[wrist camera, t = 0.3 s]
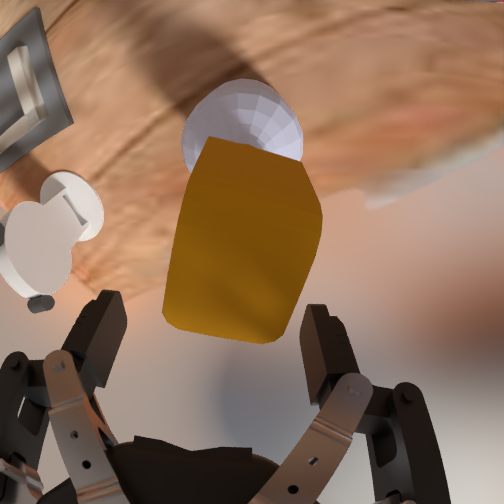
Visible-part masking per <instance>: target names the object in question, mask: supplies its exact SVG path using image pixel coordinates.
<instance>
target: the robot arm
mask: <svg viewBox="0 0 504 504" xmlns="http://www.w3.org/2000/svg"><path fill="white" fill-rule="evenodd" d="M126 328H127V316H126V312H125V308H124V305H123V301H122V297H121V294H120V292H119V291H113V290H105V289H104V290H102V291H101V292H100V294H99V296H98V298H97V299H96V300H91V301H90V302H89V303H88V304H87V305H85V306H84V308H83V309H82V311H81V313H80V315H79V317H78V318H77V320H76V322H75V324H74V325H73V327H72V329H71V331H70V333H69V335H68V336H67V338H66V340H65V342H64V344H63V346H62V348H61V350H55V351H53V352H51V353H50V354H48V355H47V356H46V358H45V360H29V359H28V358H27V356H26V355H25V354H24V353H23V352H19V351H17V352H13V353H11V354H10V355H8V356H7V358H6V359H5V361H4V362H3V364H2V367H1V369H0V504H320V503H319V502H318V501H316V499H317V498H318V496H319V495H320V494H321V492H322V491H323V489H324V488H325V486H326V484H327V483H328V481H329V480H330V478H331V477H332V475H333V474H334V472H335V470H336V469H337V467H338V466H339V463H340V462H341V460H342V459H343V457H344V455H345V454H346V452H347V450H348V448H349V446H350V444H351V442H352V435H353V433H354V432H357V433H363V434H366V440H367V446H368V452H369V459H370V465H371V472H372V479H373V487H374V495H375V503H373V504H451V500H450V495H449V489H448V484H447V480H446V475H445V471H444V466H443V462H442V458H441V454H440V450H439V446H438V443H437V439H436V435H435V432H434V429H433V425H432V422H431V419H430V416H429V413H428V409H427V406H426V403H425V401H424V397H423V394H422V392H421V390H420V389H419V388H418V387H417V386H416V385H414V384H412V383H409V382H403V383H400V384H398V385H397V386H396V387H395V388H394V389H389V388H383V387H377V386H374V385H372V384H371V382H370V381H369V380H368V379H367V378H366V377H365V376H363V375H361V374H360V371H359V368H358V365H357V362H356V359H355V356H354V353H353V350H352V347H351V344H350V341H349V338H348V336H347V332H346V329H345V327H344V324H343V323H342V322H341V321H340V320H339V319H338V318H337V316H329V312H328V309H327V306H326V305H325V304H308V305H307V307H306V310H305V314H304V318H303V321H302V325H301V328H300V346H301V352H302V357H303V363H304V368H305V374H306V379H307V386H308V392H309V397H310V403H311V405H319V408H320V412H319V413H318V415H317V416H316V418H315V419H314V420H313V422H312V423H311V425H310V426H309V428H308V429H307V431H306V432H305V433H304V435H303V436H302V438H301V439H300V440H299V442H298V443H297V445H296V446H295V447H294V449H293V450H292V451H291V453H290V454H289V455H288V457H287V458H286V459H285V460H284V462H283V463H282V464H281V466H279V465H278V464H276V463H275V462H273V461H271V460H269V459H267V458H265V457H262V456H259V455H256V454H252V448H241V447H218V448H211V449H204V450H197V451H189V450H186V449H183V448H181V447H178V446H175V445H173V444H170V443H167V442H165V441H162V440H157V439H151V438H146V437H141V436H136V435H135V436H134V441H133V442H125V443H121V444H119V443H118V442H117V440H116V438H115V437H114V435H113V434H112V432H111V430H110V428H109V426H108V424H107V422H106V420H105V418H104V415H103V413H102V411H101V408H100V406H99V403H98V401H97V399H96V396H95V394H94V390H95V387H96V386H97V387H102V388H105V385H106V383H107V380H108V377H109V374H110V371H111V368H112V366H113V363H114V360H115V357H116V354H117V352H118V349H119V347H120V344H121V341H122V339H123V336H124V334H125V331H126ZM23 397H25V400H24V403H23V406H22V409H21V412H20V415H19V417H18V411H19V408H20V405H21V402H22V400H23ZM49 420H50V422H51V425H52V429H53V432H54V435H55V438H56V441H57V444H58V447H59V450H60V453H61V456H62V458H63V461H64V464H65V466H66V468H67V471H68V473H69V476H70V477H69V478H68V479H66V480H65V481H64V482H62V483H61V484H59V485H58V486H56V487H55V488H54V489H52V490H50V491H49V492H47V493H46V494H45V495H43V494H42V491H43V489H44V487H43V484H42V482H41V479H40V476H39V474H38V473H37V469H38V464H39V459H40V455H41V451H42V446H43V442H44V438H45V435H46V431H47V427H48V424H49Z"/></svg>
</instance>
